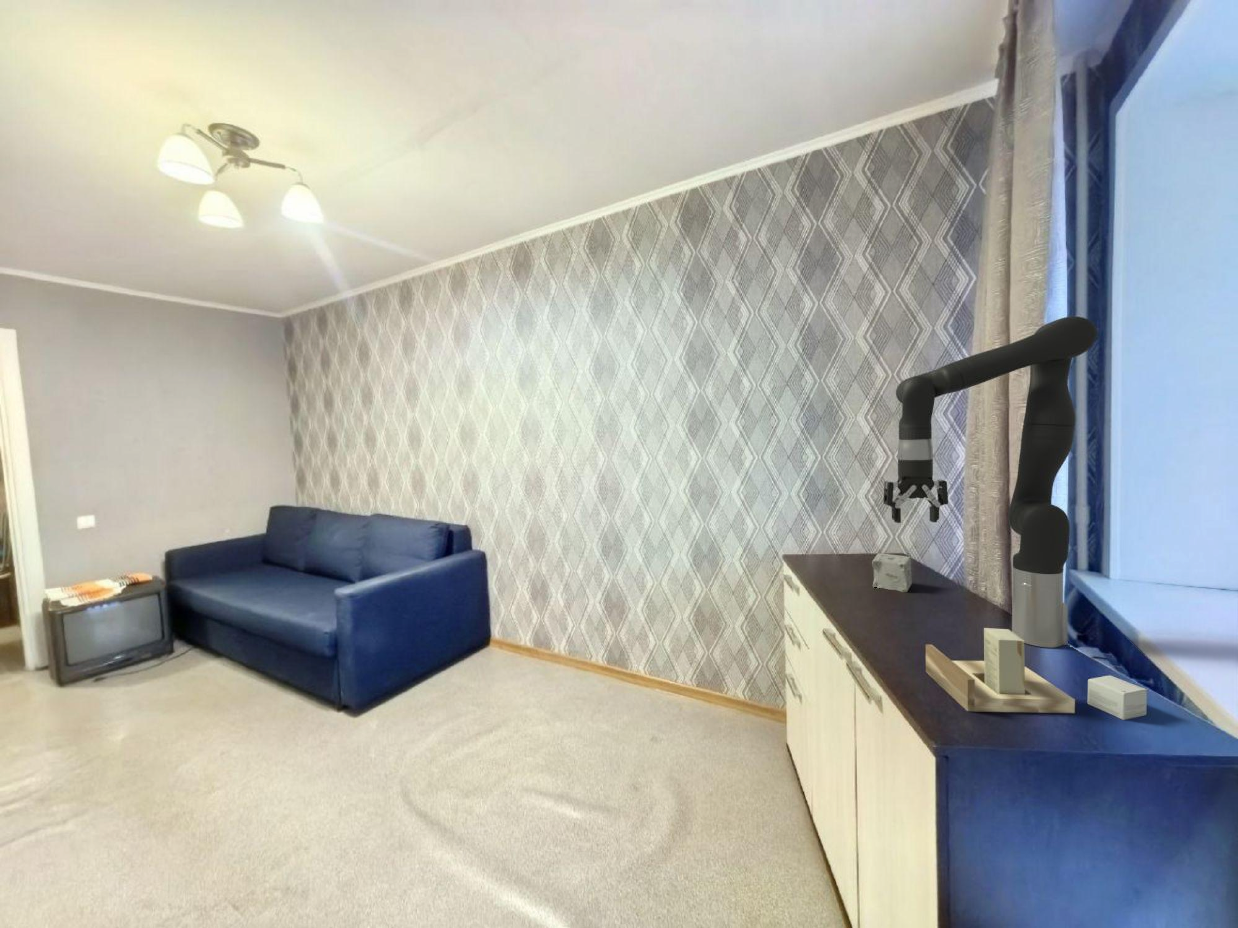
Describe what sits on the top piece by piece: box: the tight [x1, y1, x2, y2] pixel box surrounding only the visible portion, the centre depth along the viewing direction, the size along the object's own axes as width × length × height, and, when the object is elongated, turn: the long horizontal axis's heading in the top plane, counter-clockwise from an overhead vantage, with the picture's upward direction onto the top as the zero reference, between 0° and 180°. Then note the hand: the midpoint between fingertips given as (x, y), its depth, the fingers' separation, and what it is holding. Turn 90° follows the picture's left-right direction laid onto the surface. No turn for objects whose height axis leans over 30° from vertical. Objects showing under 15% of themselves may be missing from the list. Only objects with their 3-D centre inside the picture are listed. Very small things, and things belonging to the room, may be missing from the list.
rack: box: [925, 644, 1076, 714], centre depth 97 cm, size 18×15×6 cm
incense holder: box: [871, 552, 913, 593], centre depth 160 cm, size 10×8×10 cm
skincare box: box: [983, 627, 1026, 695], centre depth 95 cm, size 6×4×12 cm
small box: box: [1086, 675, 1148, 721], centre depth 90 cm, size 6×6×5 cm
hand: (915, 522), depth 125 cm, fingers open, 8 cm apart
